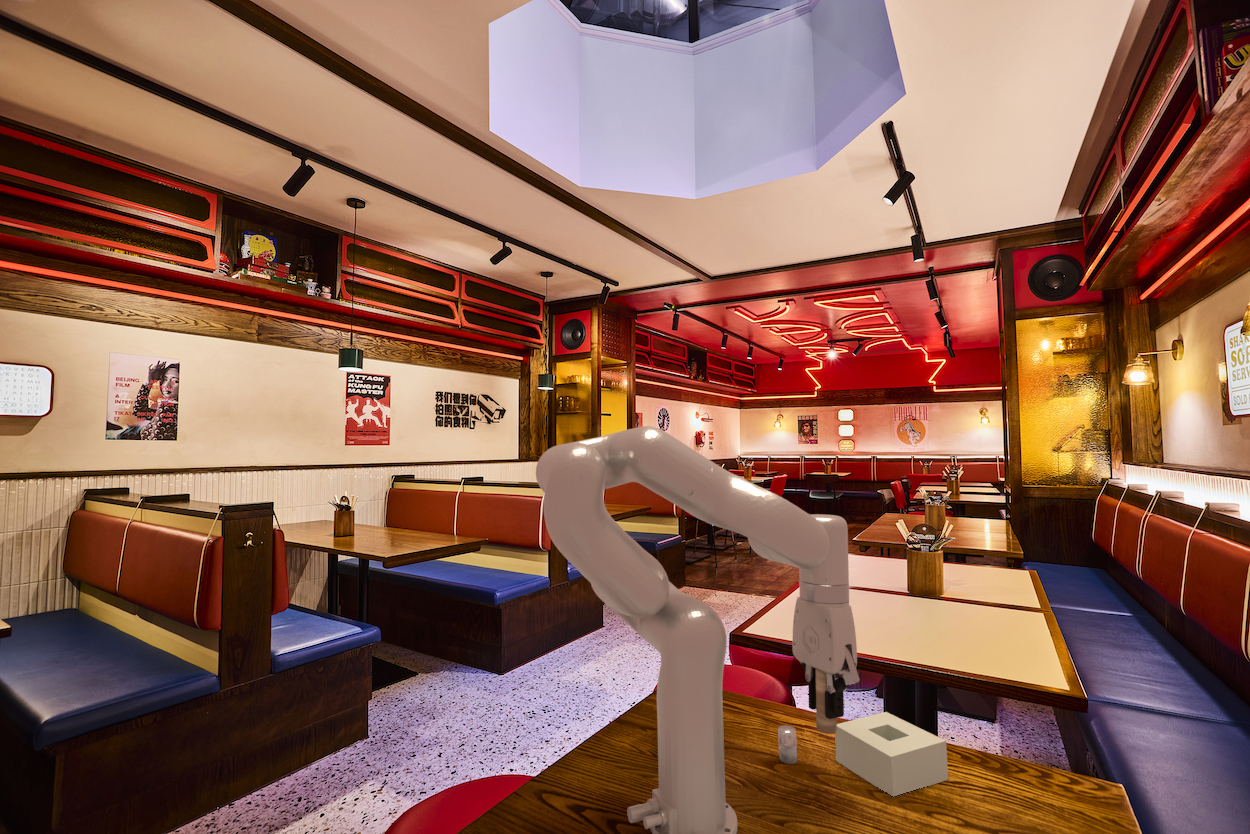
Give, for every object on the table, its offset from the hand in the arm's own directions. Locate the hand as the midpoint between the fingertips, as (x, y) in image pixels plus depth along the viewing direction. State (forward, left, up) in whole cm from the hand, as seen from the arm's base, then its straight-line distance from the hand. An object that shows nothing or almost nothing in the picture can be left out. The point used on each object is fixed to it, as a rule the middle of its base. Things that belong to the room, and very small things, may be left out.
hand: (826, 711), depth 90 cm
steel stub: (+1, +11, -12) cm, 16 cm away
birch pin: (0, 0, -3) cm, 3 cm away
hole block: (+14, +1, -12) cm, 18 cm away
